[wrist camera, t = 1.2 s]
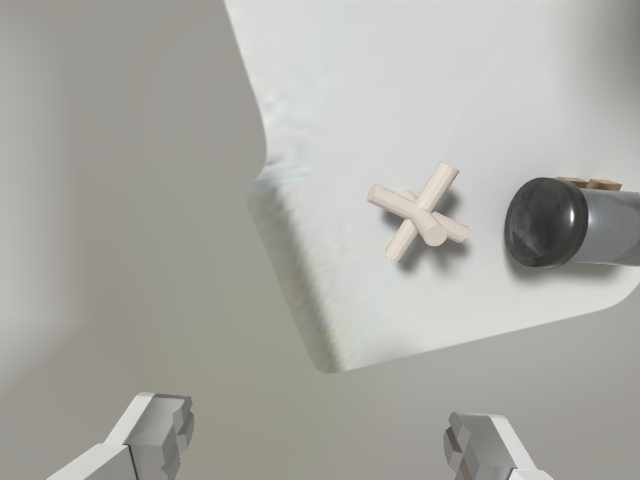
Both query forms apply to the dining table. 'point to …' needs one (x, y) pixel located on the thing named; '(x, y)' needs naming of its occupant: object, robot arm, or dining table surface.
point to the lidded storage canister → (573, 223)
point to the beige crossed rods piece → (419, 213)
